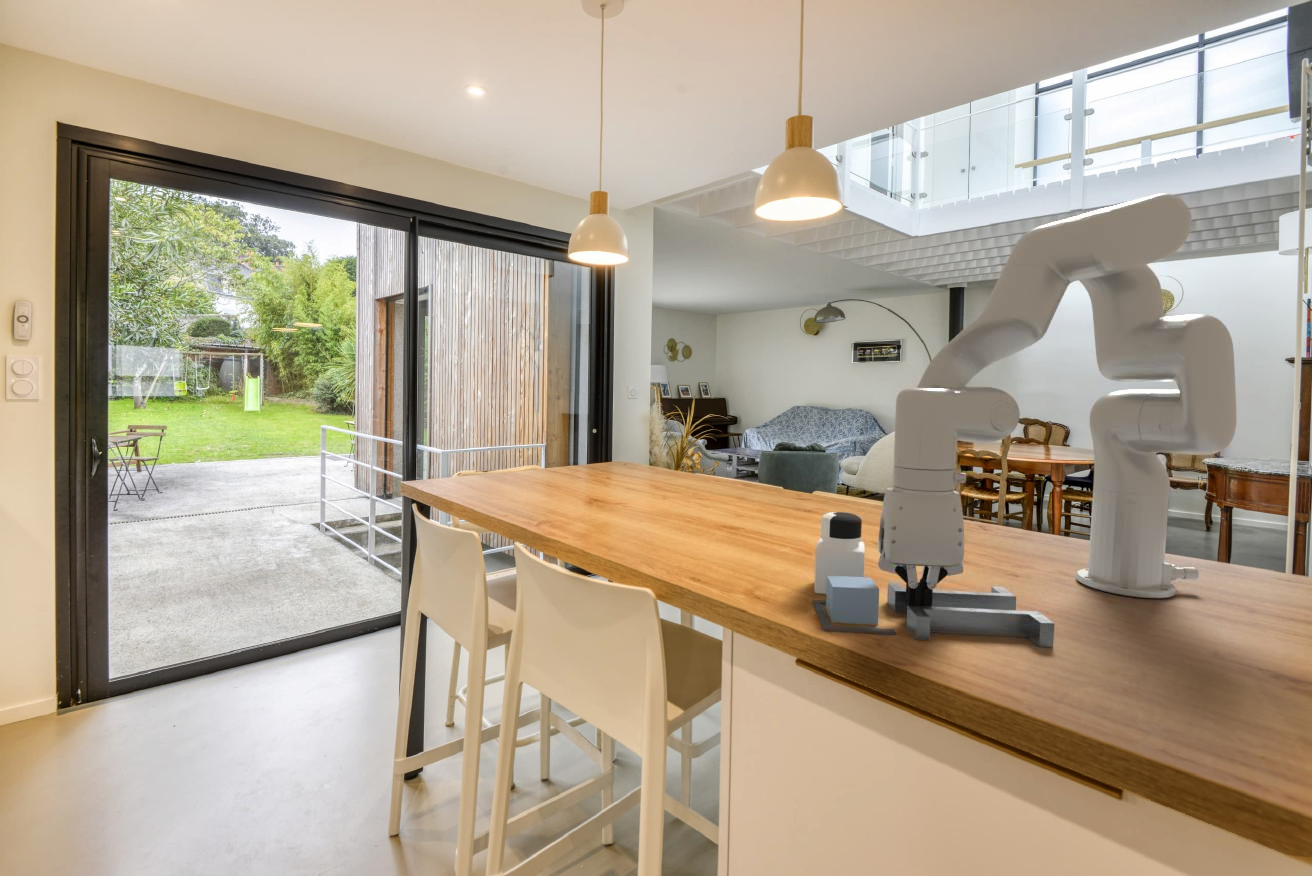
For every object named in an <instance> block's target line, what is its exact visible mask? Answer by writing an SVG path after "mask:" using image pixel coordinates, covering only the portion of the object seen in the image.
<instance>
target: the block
mask: <svg viewBox="0 0 1312 876" xmlns="http://www.w3.org/2000/svg"><path fill="white" fill-rule="evenodd" d="M825 597H826V599H825V600H826V604H825V610H826V612H828V613H827V615H828V617H829V619H830V621H831V623H834V622H840V624H853V623H855V624H857V625H858V624H859V625H875V626H878V625H879V608H880V607H879V606H880V588H879V586H878V585H877V584H876V583H875V581H874V580H873V579H872V578H871V577H865V576H864V577H848V576H827V590H826V594H825Z"/></svg>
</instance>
